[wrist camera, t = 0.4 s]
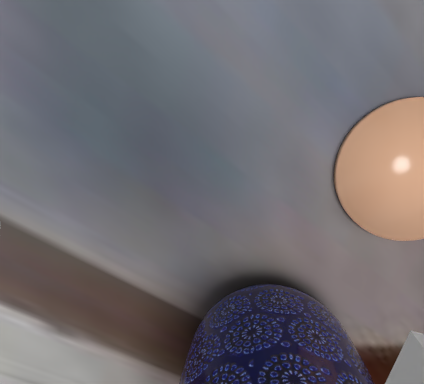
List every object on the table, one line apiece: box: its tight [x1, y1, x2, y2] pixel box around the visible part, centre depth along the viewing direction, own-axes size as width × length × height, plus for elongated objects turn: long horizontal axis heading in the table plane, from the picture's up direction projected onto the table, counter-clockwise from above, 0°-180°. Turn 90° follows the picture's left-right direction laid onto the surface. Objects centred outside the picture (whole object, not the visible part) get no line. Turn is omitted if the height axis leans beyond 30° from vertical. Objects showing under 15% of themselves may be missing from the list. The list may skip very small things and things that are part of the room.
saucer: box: [334, 97, 424, 241], centre depth 35 cm, size 15×15×1 cm
